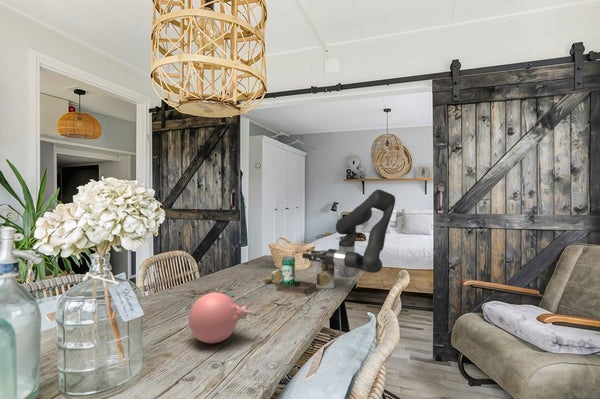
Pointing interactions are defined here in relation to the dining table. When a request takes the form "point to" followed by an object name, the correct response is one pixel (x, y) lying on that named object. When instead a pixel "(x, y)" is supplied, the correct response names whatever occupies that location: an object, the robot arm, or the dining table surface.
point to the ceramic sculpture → (275, 276)
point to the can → (288, 271)
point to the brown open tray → (297, 288)
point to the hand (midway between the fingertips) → (307, 253)
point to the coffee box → (325, 275)
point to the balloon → (215, 317)
